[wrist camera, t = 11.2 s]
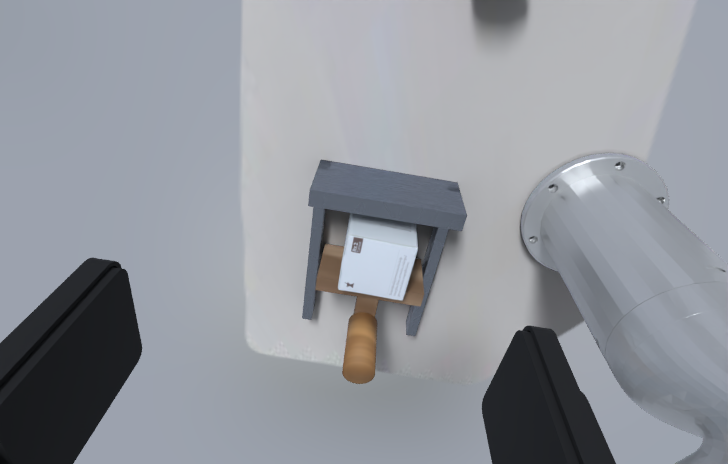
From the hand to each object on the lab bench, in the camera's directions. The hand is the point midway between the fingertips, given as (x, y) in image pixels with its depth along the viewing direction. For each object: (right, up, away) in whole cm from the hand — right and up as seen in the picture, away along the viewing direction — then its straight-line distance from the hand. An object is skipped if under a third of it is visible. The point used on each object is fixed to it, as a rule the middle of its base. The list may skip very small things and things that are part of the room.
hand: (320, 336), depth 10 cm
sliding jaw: (+2, -2, +35) cm, 35 cm away
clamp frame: (+2, +1, +33) cm, 33 cm away
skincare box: (+3, +3, +32) cm, 32 cm away
